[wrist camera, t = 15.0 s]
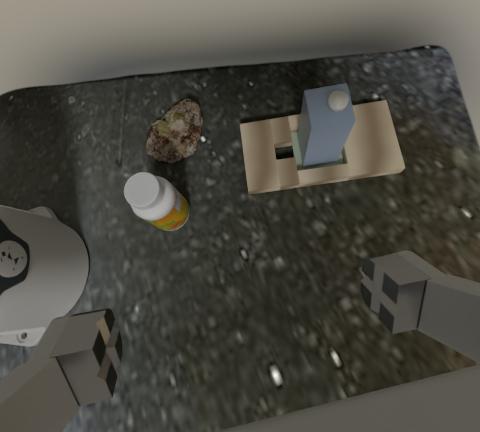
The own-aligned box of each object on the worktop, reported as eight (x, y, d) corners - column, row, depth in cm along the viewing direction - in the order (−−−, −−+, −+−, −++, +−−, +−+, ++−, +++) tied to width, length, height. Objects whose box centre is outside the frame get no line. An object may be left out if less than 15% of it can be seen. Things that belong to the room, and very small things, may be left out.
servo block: (302, 166, 40) (312, 123, 30) (297, 137, 41) (304, 85, 31) (336, 161, 40) (358, 115, 29) (329, 132, 41) (348, 77, 31)
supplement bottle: (152, 232, 40) (115, 215, 31) (153, 195, 42) (118, 168, 33) (190, 230, 40) (164, 211, 31) (190, 192, 41) (165, 163, 32)
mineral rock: (179, 171, 40) (128, 139, 40) (181, 179, 44) (134, 150, 44) (220, 110, 42) (172, 79, 42) (218, 123, 46) (174, 96, 46)
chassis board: (249, 194, 40) (248, 190, 39) (241, 129, 43) (239, 124, 41) (400, 172, 39) (405, 168, 37) (382, 106, 41) (386, 99, 40)
